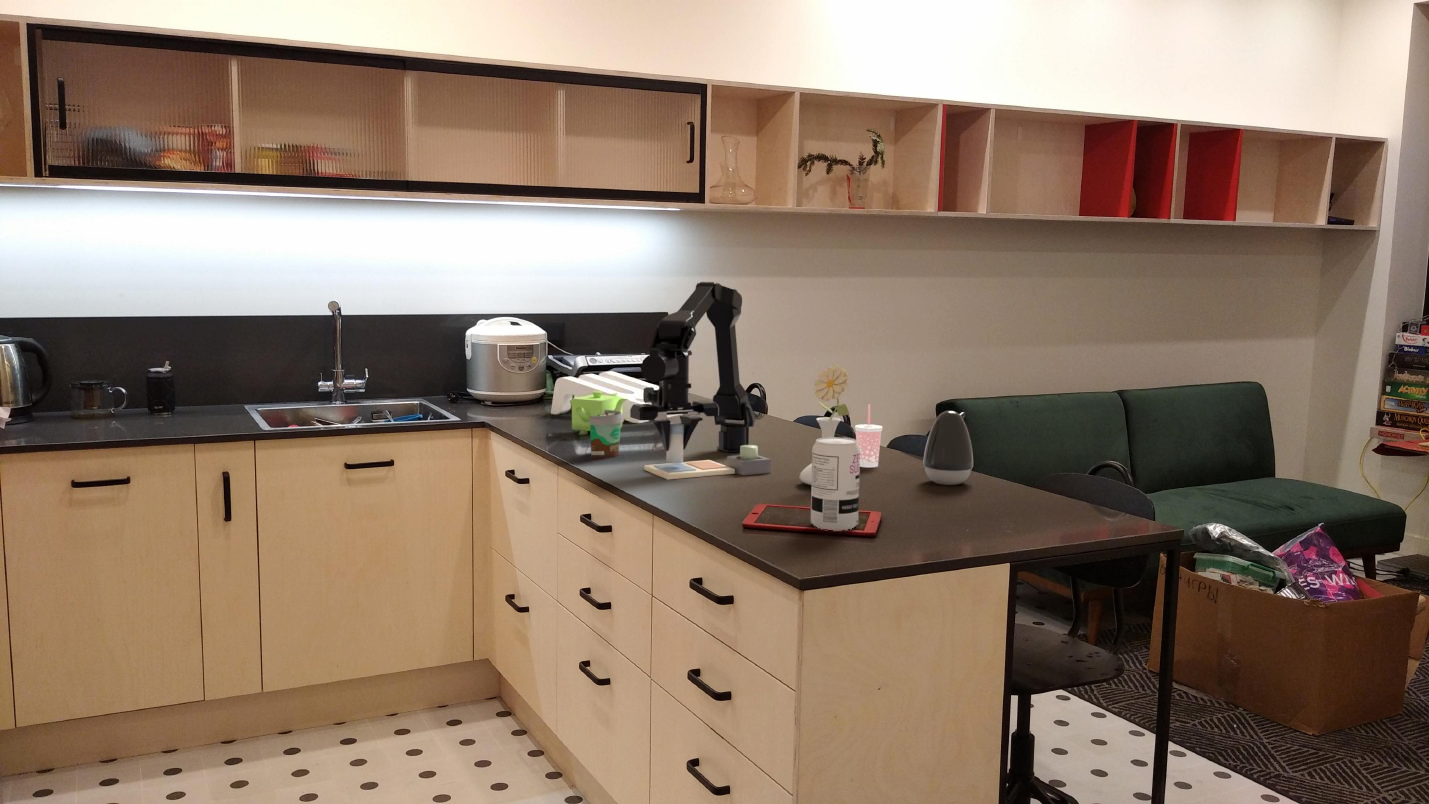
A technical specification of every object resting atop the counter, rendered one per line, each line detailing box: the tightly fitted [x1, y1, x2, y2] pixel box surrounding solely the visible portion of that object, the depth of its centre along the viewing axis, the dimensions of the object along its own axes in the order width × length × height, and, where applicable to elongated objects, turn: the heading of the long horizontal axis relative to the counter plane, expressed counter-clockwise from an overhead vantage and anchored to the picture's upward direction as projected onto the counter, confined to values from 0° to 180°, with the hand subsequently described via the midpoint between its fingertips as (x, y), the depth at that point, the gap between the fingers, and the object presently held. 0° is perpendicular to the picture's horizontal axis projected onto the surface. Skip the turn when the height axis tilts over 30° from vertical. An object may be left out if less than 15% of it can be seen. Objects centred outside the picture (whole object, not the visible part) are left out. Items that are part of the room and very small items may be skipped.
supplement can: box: [810, 436, 861, 532], centre depth 187 cm, size 8×8×15 cm
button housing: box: [726, 454, 772, 476], centre depth 236 cm, size 7×7×3 cm
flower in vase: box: [798, 365, 851, 486], centre depth 220 cm, size 13×11×25 cm
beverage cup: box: [854, 403, 883, 468], centre depth 244 cm, size 6×6×14 cm
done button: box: [739, 444, 759, 460], centre depth 236 cm, size 4×4×4 cm
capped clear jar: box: [666, 422, 684, 463], centre depth 233 cm, size 4×4×8 cm
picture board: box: [643, 459, 736, 480], centre depth 235 cm, size 16×12×1 cm
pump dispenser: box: [922, 410, 974, 486], centre depth 226 cm, size 10×10×15 cm
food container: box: [589, 410, 625, 459], centre depth 254 cm, size 12×6×10 cm, turn 168°
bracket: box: [550, 370, 690, 424], centre depth 325 cm, size 24×12×32 cm
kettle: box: [569, 391, 628, 436], centre depth 287 cm, size 15×14×11 cm
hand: (674, 450), depth 233 cm, fingers closed on capped clear jar, 3 cm apart
